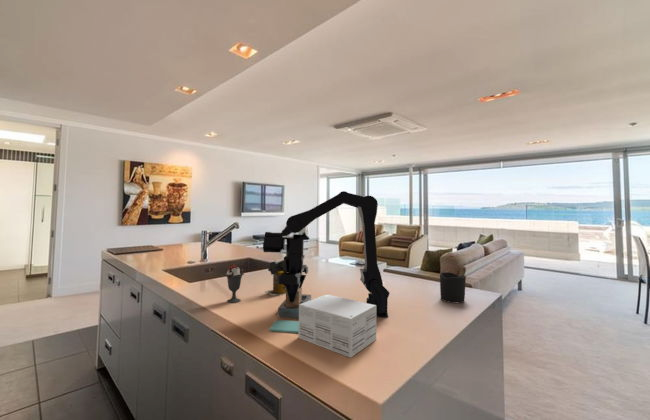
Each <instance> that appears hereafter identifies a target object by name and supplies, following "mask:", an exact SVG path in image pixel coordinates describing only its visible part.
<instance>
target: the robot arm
mask: <svg viewBox="0 0 650 420" xmlns="http://www.w3.org/2000/svg"><path fill="white" fill-rule="evenodd" d="M343 204H344V205H347V206H351V207H352V208H357V210H358V213H359V214H358V215H359V216H360V217H359V218H360V220H361V223H362V236H363V237H362V238H363V240H362V241H363V251H364V252H363V253H364V266H363V268H362V267H361V268H359V272H360V282H361V283H362V284H363V286H364V287H365V289H366V290H367V291H368V296H367V297H366V301H365V303H368V304H372V305H376V317H381V318H388V317H389V313H388V299H389V296H390V291H389V290H388V289H387V288H386V287H385V285H384V283H383V279H382V275H381V274H382V273H381V272H380V268H379V265H378V256H377V253H378V252H377V241H376V224H375V223H376V218H377V214H378V206H379V205H378V204H379V203H378V200H377V199H376V198H375V197H374V196H373V195H365V196H364V195H363V196H362V195H360V194H354V193H351V192H347V191H345V190H344V191H343V190H342V191H341V192H339V193H338V194H336V195H334V196H333V197H330V198H328V200H325V201H324V202H321V203H320V204H318V205H316V206H314V207H313V208H311V209H309V210H306V211H303V212H299V213H297V214H294V215H291V216H289V217H288V218H287V220H286V223H285V224H286V225H285V227H284V229H282V230H281V232H272V231H265V233H264V239H263V242H262V250H263V253H282V250H285V249H286V251H285V253H286V254H285V256H284V257H283V260H279V261H276V260H274V261H270V262H269V265H268V271H269V272H270V275H272V276H273V274H275V273H277V272H280V271H283V272H284V273H282V274H281V275H280V276H279V277H278V284H283V285H284V286H285V287H286V289H287V292H288V296H289V300H290V302H294V299H295V297H296V294H297V291H298V288H302V287H303V284H304V281H305V279H306V277H307V274H308V273H309V267H308V265H307V264H304V259H305V254H304V243H305V241H307V240H309V239H310V237H309V236H308V235H307V233H306V232H303V233H300V232H301V231H302V230H304V229H305V228H306V227H307V226H309V225H310V224H311V223H312V222H313V221H315V220H316V219H318V218H319V217H321V216H324V215H325V214H327V213H329V212H331V211H332V210H334V209H336V208H338V207H340V206H342V205H343ZM292 233H293V234H292ZM298 233H300V234H298ZM290 234H292V235H293V236H289V235H290ZM303 273H304V274H303Z"/></svg>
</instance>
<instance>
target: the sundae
mask: <svg viewBox="0 0 650 420" xmlns="http://www.w3.org/2000/svg"><path fill="white" fill-rule="evenodd" d="M228 263H229V264H230V266H229V267H228V270H227V272H226V273H225V275H224V276H225V277H226V278H227V287H228V290H230V292H231V294H232V295H231V298H229V299H227V300H226V302H227V303H230V304H236V303H240V302H241V301H242V300H241V298H238V297H237V291H239V289H240V287H241V282H242V278H243V277H242V276H244V275H245V272H243V271H244V267H243V268H242V269H240V267H238V266H236V265H234V264H233V263H232V262H231V260H230V261H228Z"/></svg>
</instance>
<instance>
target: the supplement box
mask: <svg viewBox="0 0 650 420" xmlns="http://www.w3.org/2000/svg"><path fill="white" fill-rule="evenodd" d="M298 321H299V333H297V334H298V338H297V339H301V340H304V341H306V342H309V343H311V344H314V345H317V346H319V347H322V348H324V349H327V350H329V351H331V352H334V353H338V354H339V355H342V356H345V357H348V358H350V359H351V358H353V357H354V356H355V355H356V354H358V353H359V352H361V351H362V350H363V349H365V348H366V347H367V346H369V345H371V344H372V343H373V342H374V341H376V340H377V316H376V305H372V304H368V303H366V302H363V301H358V300H354V299H349V298H345V297H341V296H336V295H331V294H330V293H329V294H328V293H327V294H325V295H321V296H319V297H316V298H313V299H311V300H310V301H307V302H304V303H302V304H299V319H298Z"/></svg>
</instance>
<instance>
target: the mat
mask: <svg viewBox="0 0 650 420" xmlns="http://www.w3.org/2000/svg"><path fill="white" fill-rule="evenodd" d="M268 331H269V332H278V333H280V332H281V333H291V334H293V333H294V334H299V320H284V319H276V320H275V321H274V322H273V323H272V325H271V326H270V327H269V329H268Z"/></svg>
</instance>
